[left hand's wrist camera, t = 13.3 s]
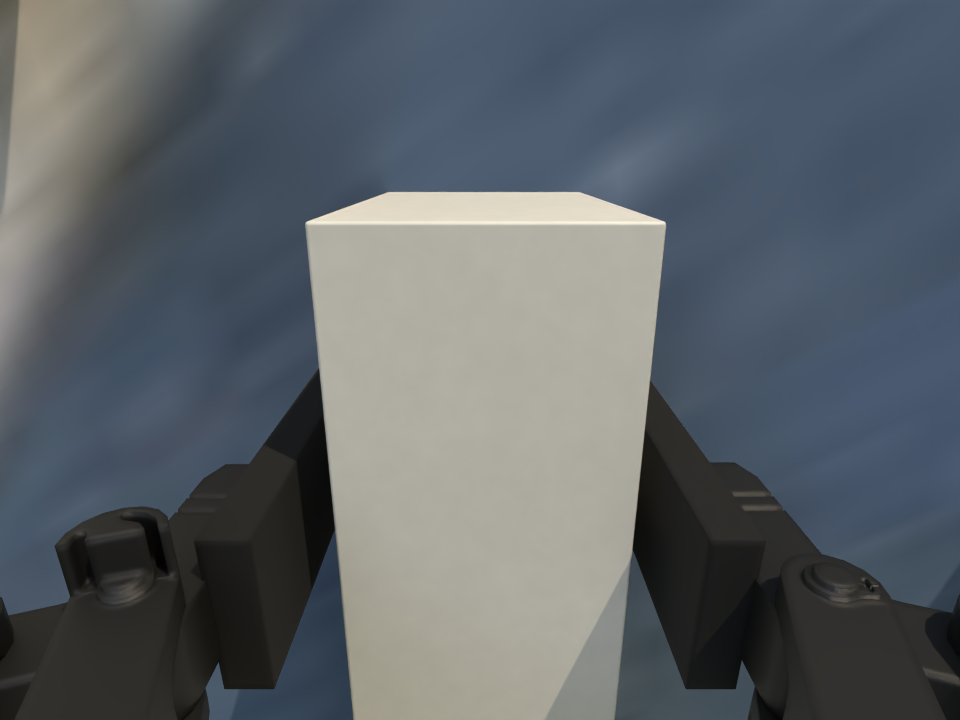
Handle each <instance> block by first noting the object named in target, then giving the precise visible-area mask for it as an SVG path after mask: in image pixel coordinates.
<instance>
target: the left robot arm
mask: <svg viewBox="0 0 960 720" xmlns="http://www.w3.org/2000/svg"><path fill="white" fill-rule="evenodd" d="M334 530H335V525H334V515H333V504H332V494H331V484H330V474H329V463H328V453H327V443H326V432H325V422H324V412H323V402H322V391H321V381H320V371H319V369H318V370H317V371H316V373H315V374H314V376H313V377H312V378H311V380H310V381H309V382H308V384H307V385H306V387H305V388H304V389H303V391H302V392H301V393H300V395H299V396H298V398H297V399H296V400H295V402H294V403H293V404H292V406H291V407H290V409H289V410H288V411H287V413H286V414H285V416H284V417H283V418H282V420H281V421H280V422H279V424H278V425H277V427H276V428H275V429H274V431H273V432H272V433H271V435H270V436H269V438H268V439H267V440H266V442H265V443H264V444H263V446H262V447H261V449H260V450H259V451H258V453H257V454H256V456H255V457H254V458H253V460H252V461H251V462H250V464H226V465H224V466H223V467H221V468H219V469H218V470H216V471H215V472H213V473H212V474H210V475H208V476H207V477H205V478H204V479H203V480H202V481H201V482H200V483H199V485H198V486H197V487H196V488H195V489H194V491H193V492H192V493H191V494H190V498H189V499H186V500H185V502H184V503H183V504H182V505H181V506H180V508H179V509H178V513H175V514H174V515H173V516H172V517H171V518H170V520H169V521H168V518H167V516H166V515H165V514H164V513H162V512H161V511H160V510H159V509H154V508H149V507H130V508H122V509H118V510H114V511H110V512H106V513H103V514H100V515H98V516H96V517H93V518H91V519H89V520H86V521H84V522H82V523H80V524H79V525H77V526H76V527H74V528H73V529H71V530H70V531H68V532H67V533H65V535H64V536H63V537H62V538H61V539H60V540H59V541H58V543H57V544H56V545H55V549H56V552H57V555H58V558H59V562H60V565H61V568H62V571H63V575H64V578H65V581H66V584H67V588H68V591H69V594H70V599H69V601H68V602H67V603H63V604H59V605H55V606H50V607H46V608H41V609H37V610H32V611H27V612H23V613H18V614H14V615H9V616H8V613H7V611H6V608H5V605H4V602H3V600H2V598H1V597H0V720H209V712H210V711H209V704H208V697H207V693H206V688H205V687H206V686H207V684H208V682H209V680H210V678H211V676H212V674H213V672H214V670H215V668H216V666H217V664H218V662H219V665H220V670H221V675H222V680H223V685H224V689H274V688H275V685H276V683H277V680H278V677H279V675H280V672H281V669H282V667H283V664H284V662H285V659H286V656H287V654H288V651H289V648H290V646H291V643H292V640H293V638H294V635H295V633H296V630H297V627H298V625H299V622H300V619H301V617H302V614H303V611H304V609H305V606H306V604H307V601H308V598H309V596H310V593H311V590H312V588H313V585H314V582H315V580H316V577H317V575H318V572H319V569H320V567H321V564H322V561H323V559H324V556H325V553H326V551H327V548H328V546H329V543H330V540H331V538H332V535H333V532H334ZM633 551H634V553H635V556H636V559H637V561H638V564H639V567H640V569H641V572H642V575H643V577H644V580H645V582H646V585H647V588H648V590H649V593H650V596H651V598H652V601H653V604H654V606H655V609H656V612H657V614H658V617H659V619H660V622H661V625H662V627H663V630H664V633H665V635H666V638H667V641H668V643H669V646H670V648H671V651H672V654H673V656H674V659H675V662H676V664H677V667H678V670H679V672H680V675H681V677H682V680H683V683H684V685H685V688H686V689H736V685H737V680H738V675H739V670H740V665H741V660H742V661H743V663H744V665H745V667H746V669H747V671H748V673H749V675H750V677H751V679H752V681H753V683H754V684H755V688H754V693H753V697H752V702H751V706H750V711H749V715H748V720H960V595H959V597H958V599H957V602H956V605H955V608H954V611H953V613H949V612H945V611H940V610H935V609H931V608H926V607H921V606H917V605H912V604H908V603H903V602H899V601H896V600H892V599H891V598H890V596H889V594H888V593H887V592H886V590H885V589H884V588H883V586H882V585H881V583H880V582H878V581H877V580H876V579H874V578H873V577H872V576H871V575H869V574H868V573H867V572H865V571H864V570H862V569H860V568H858V567H856V566H854V565H852V564H850V563H848V562H846V561H844V560H840V559H837V558H833V557H830V556H826V555H822V554H821V553H820V552H819V550H818V549H817V548H816V547H815V546H814V544H813V543H812V542H811V541H810V540H809V538H808V537H807V536H806V535H805V534H804V532H803V531H802V530H801V529H800V528H799V527H798V525H797V524H796V523H795V522H794V521H793V519H792V518H791V517H790V516H789V515H788V513H787V512H786V511H783V510H782V506H781V505H780V504H779V503H778V501H777V500H776V499H775V498H774V497H771V493H770V492H769V491H768V489H767V488H766V487H765V486H764V485H763V483H762V482H761V481H760V480H759V479H758V478H757V477H756V476H755V475H753V474H752V473H750V472H749V471H747V470H745V469H744V468H742V467H741V466H739V465H737V464H736V463H710V462H709V461H708V460H707V458H706V457H705V456H704V454H703V453H702V451H701V450H700V449H699V447H698V446H697V444H696V443H695V442H694V440H693V439H692V438H691V436H690V435H689V433H688V432H687V431H686V429H685V428H684V427H683V425H682V424H681V422H680V421H679V420H678V418H677V417H676V416H675V414H674V413H673V411H672V410H671V409H670V407H669V406H668V405H667V403H666V402H665V400H664V399H663V398H662V396H661V395H660V393H659V392H658V391H657V389H656V388H655V387H654V385H653V384H652V382H651V381H650V384H649V394H648V403H647V413H646V423H645V432H644V442H643V452H642V461H641V471H640V481H639V490H638V500H637V509H636V519H635V529H634V538H633Z"/></svg>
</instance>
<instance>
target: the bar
mask: <svg viewBox="0 0 960 720" xmlns="http://www.w3.org/2000/svg"><path fill="white" fill-rule="evenodd" d="M305 227H306V238H307V248H308V258H309V268H310V279H311V289H312V299H313V309H314V320H315V330H316V340H317V350H318V361H319V371H320V381H321V391H322V402H323V412H324V422H325V432H326V443H327V453H328V463H329V474H330V484H331V494H332V504H333V515H334V525H335V535H336V545H337V556H338V566H339V576H340V586H341V597H342V607H343V617H344V627H345V638H346V648H347V658H348V668H349V679H350V689H351V699H352V709H353V720H615V712H616V702H617V692H618V683H619V673H620V663H621V654H622V644H623V635H624V625H625V615H626V606H627V596H628V586H629V577H630V567H631V558H632V548H633V538H634V529H635V519H636V509H637V500H638V490H639V481H640V471H641V461H642V452H643V442H644V432H645V423H646V413H647V403H648V394H649V384H650V375H651V365H652V355H653V346H654V336H655V326H656V317H657V307H658V298H659V288H660V278H661V269H662V259H663V249H664V240H665V230H666V224H665V222H663V221H661V220H658V219H655V218H652V217H649V216H646V215H643V214H640V213H638V212H635V211H632V210H629V209H626V208H623V207H620V206H617V205H615V204H612V203H609V202H606V201H603V200H600V199H597V198H594V197H592V196H589V195H586V194H583V193H580V192H388V193H385V194H382V195H379V196H377V197H374V198H371V199H368V200H366V201H363V202H360V203H357V204H354V205H352V206H349V207H346V208H343V209H341V210H338V211H335V212H332V213H330V214H327V215H324V216H321V217H319V218H316V219H313V220H310V221H308V222H306V224H305Z"/></svg>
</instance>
